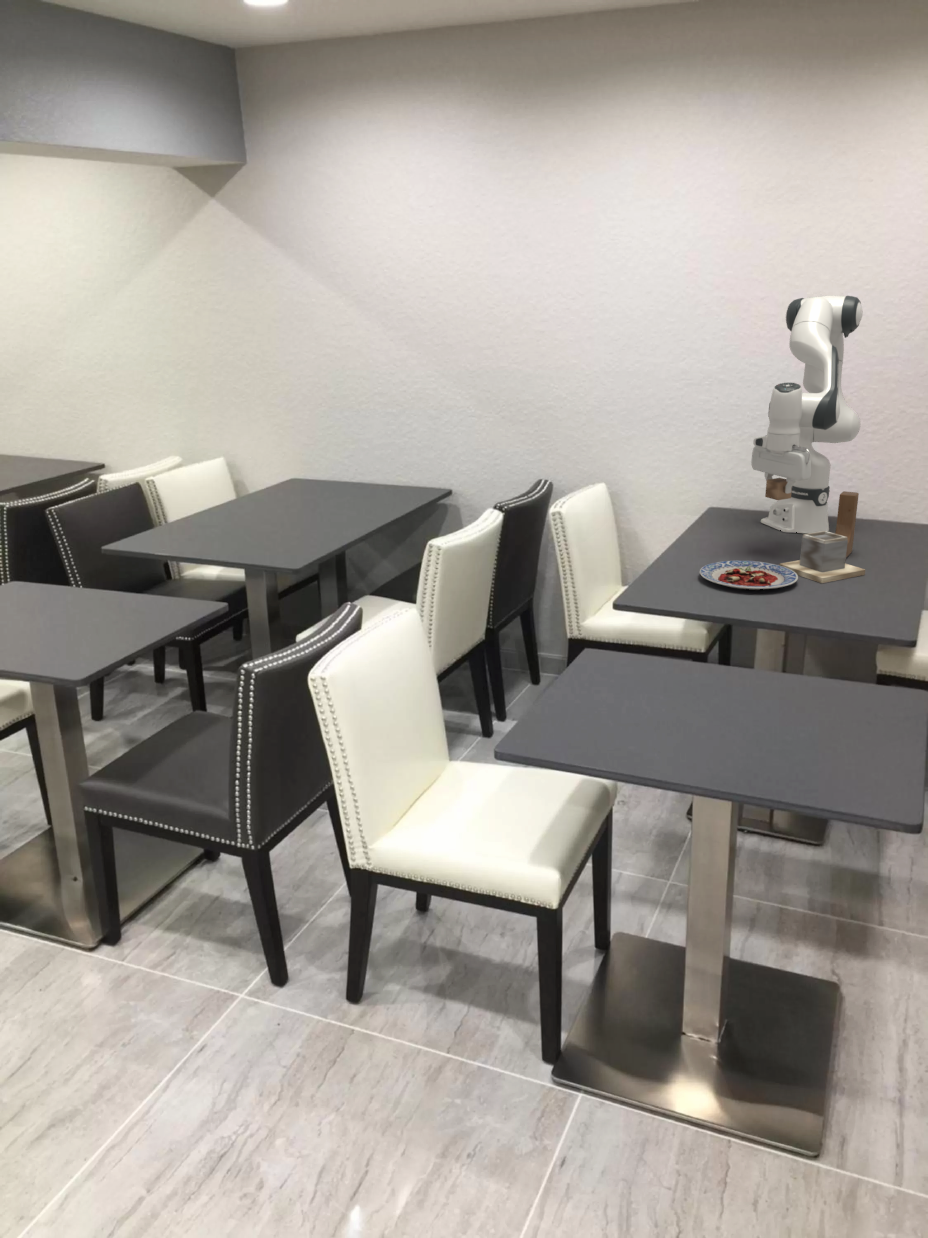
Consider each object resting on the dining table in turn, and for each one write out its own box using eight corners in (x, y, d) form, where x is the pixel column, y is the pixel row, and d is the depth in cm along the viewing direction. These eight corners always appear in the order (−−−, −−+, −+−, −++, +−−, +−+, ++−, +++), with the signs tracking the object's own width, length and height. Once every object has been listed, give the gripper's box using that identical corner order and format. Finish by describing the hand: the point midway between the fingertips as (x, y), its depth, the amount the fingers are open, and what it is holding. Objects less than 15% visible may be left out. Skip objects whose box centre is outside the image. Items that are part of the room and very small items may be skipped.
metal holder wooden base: (778, 568, 284) (782, 533, 281) (820, 561, 291) (824, 526, 288) (821, 583, 271) (825, 546, 267) (864, 574, 278) (869, 538, 274)
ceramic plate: (794, 599, 259) (795, 588, 258) (692, 590, 267) (693, 579, 266) (799, 572, 282) (800, 562, 281) (705, 564, 290) (706, 554, 289)
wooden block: (845, 559, 292) (852, 498, 286) (829, 557, 294) (835, 496, 289) (852, 552, 299) (859, 492, 294) (836, 550, 302) (843, 490, 296)
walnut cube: (765, 496, 291) (766, 479, 289) (778, 494, 293) (779, 477, 291) (777, 500, 287) (779, 482, 285) (790, 497, 289) (792, 480, 287)
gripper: (818, 447, 277) (813, 496, 282) (766, 436, 294) (762, 482, 299) (801, 449, 275) (797, 499, 279) (749, 438, 292) (745, 485, 296)
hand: (778, 490), depth 289 cm, fingers closed on walnut cube, 5 cm apart
